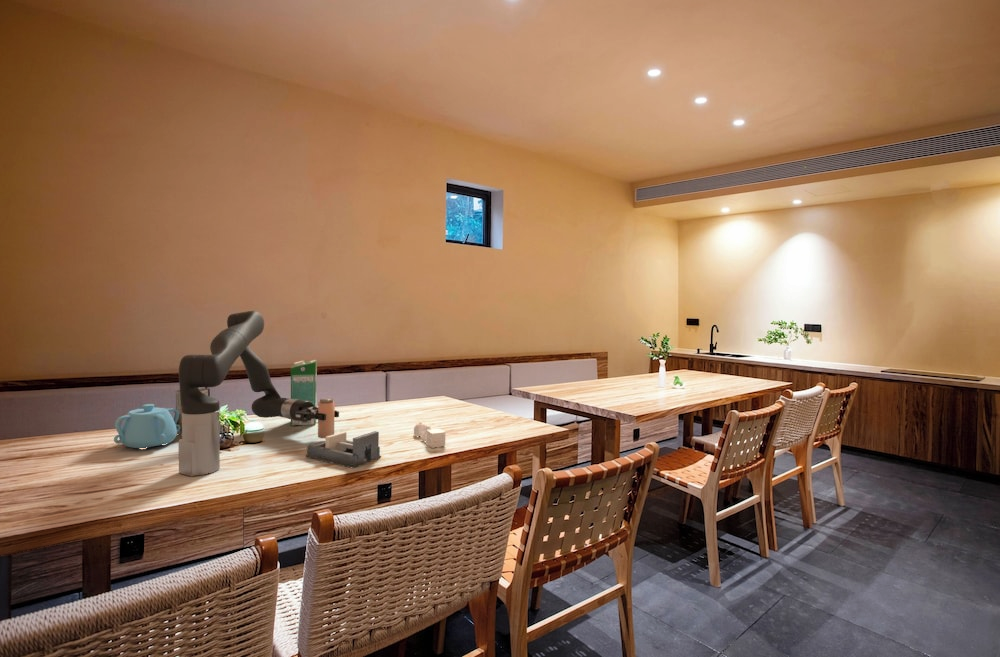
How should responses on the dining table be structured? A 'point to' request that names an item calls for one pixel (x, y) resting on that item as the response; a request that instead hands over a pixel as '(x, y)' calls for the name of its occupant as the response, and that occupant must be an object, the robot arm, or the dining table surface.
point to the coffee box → (179, 408)
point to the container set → (430, 435)
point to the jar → (327, 425)
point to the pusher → (338, 442)
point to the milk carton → (304, 385)
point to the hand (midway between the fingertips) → (331, 415)
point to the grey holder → (349, 451)
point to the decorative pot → (147, 427)
